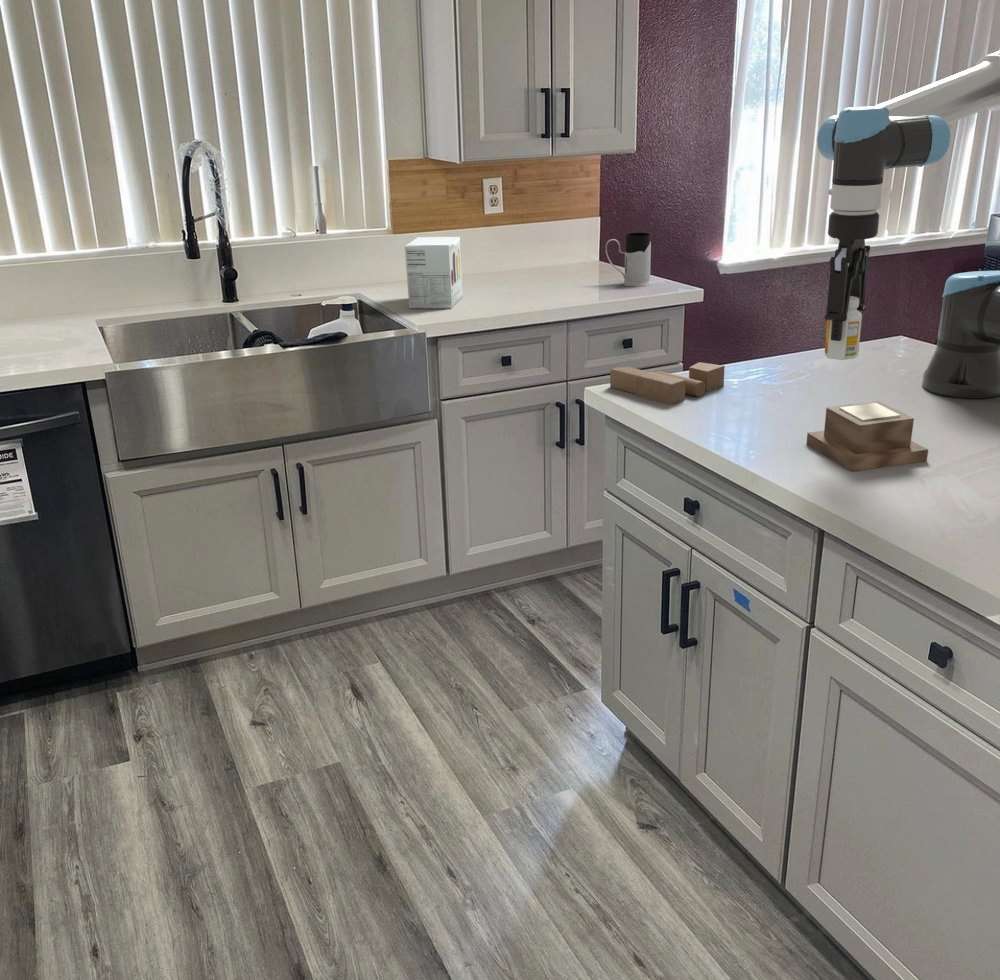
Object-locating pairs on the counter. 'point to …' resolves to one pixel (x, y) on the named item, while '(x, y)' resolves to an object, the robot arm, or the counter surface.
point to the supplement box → (434, 272)
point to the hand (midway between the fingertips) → (841, 353)
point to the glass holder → (636, 259)
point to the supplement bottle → (850, 329)
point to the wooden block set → (668, 382)
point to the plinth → (867, 457)
